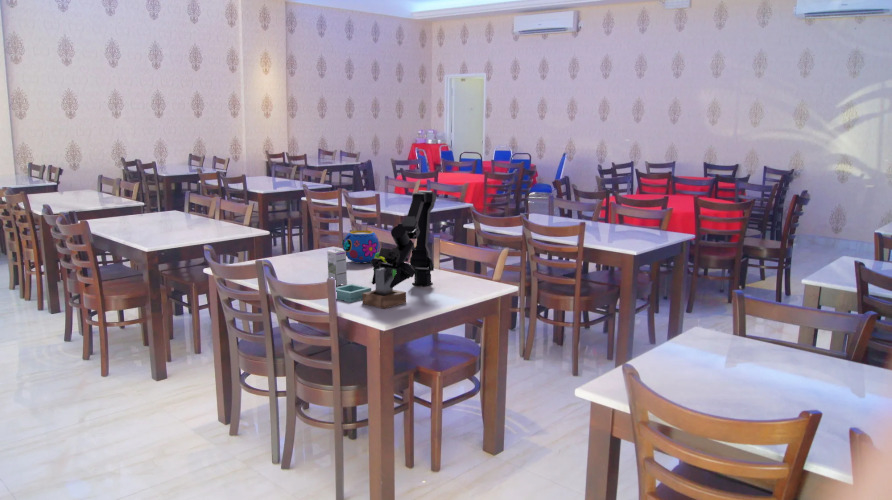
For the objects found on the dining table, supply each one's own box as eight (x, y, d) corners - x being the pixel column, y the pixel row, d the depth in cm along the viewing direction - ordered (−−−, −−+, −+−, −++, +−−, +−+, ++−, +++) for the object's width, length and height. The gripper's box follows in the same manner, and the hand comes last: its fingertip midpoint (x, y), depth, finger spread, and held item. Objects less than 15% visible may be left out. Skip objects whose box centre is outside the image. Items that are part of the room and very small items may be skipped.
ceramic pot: (341, 259, 340) (340, 229, 338) (377, 258, 344) (376, 228, 342) (345, 266, 324) (344, 235, 321) (382, 265, 328) (382, 233, 325)
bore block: (362, 303, 257) (362, 293, 256) (384, 297, 265) (384, 287, 265) (384, 308, 250) (384, 298, 249) (406, 302, 258) (406, 292, 258)
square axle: (375, 303, 257) (375, 269, 255) (384, 301, 261) (383, 267, 258) (384, 305, 254) (383, 271, 252) (392, 302, 258) (392, 269, 255)
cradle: (327, 297, 266) (327, 289, 266) (352, 291, 276) (351, 283, 276) (350, 302, 258) (350, 294, 258) (375, 296, 268) (374, 287, 268)
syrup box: (347, 284, 288) (346, 250, 286) (336, 286, 284) (335, 252, 281) (339, 282, 292) (338, 248, 290) (327, 284, 288) (326, 250, 285)
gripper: (373, 236, 262) (352, 269, 256) (409, 242, 250) (388, 276, 244) (387, 254, 269) (368, 286, 263) (423, 260, 258) (404, 294, 251)
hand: (381, 285), depth 255 cm, fingers open, 9 cm apart
